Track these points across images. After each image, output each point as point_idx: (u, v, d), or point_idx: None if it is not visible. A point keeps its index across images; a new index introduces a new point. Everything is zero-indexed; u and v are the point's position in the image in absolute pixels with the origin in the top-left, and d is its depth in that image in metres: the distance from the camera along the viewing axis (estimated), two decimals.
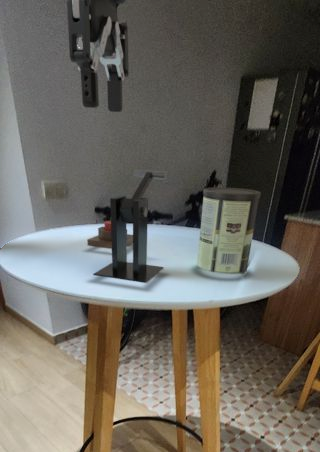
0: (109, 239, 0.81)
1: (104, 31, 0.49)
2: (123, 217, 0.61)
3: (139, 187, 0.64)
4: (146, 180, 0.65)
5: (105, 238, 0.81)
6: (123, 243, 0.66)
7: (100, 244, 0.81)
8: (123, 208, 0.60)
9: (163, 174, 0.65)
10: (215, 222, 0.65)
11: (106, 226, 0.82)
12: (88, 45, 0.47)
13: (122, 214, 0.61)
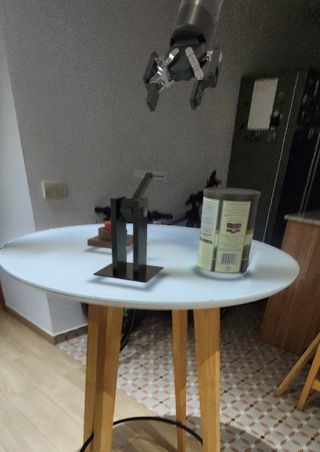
0: (109, 239, 0.81)
1: None
2: (123, 217, 0.61)
3: (139, 187, 0.64)
4: (146, 180, 0.65)
5: (105, 238, 0.81)
6: (123, 243, 0.66)
7: (100, 244, 0.81)
8: (123, 208, 0.60)
9: (163, 174, 0.65)
10: (215, 222, 0.65)
11: (106, 226, 0.82)
12: None
13: (122, 214, 0.61)
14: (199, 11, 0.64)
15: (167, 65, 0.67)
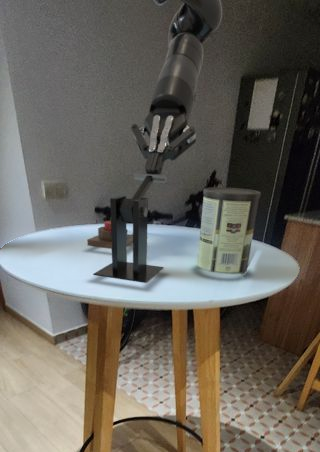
0: (109, 239, 0.81)
1: None
2: (123, 216, 0.61)
3: (139, 189, 0.64)
4: (146, 182, 0.65)
5: (105, 238, 0.81)
6: (123, 243, 0.66)
7: (100, 244, 0.81)
8: (123, 207, 0.60)
9: (163, 177, 0.66)
10: (215, 222, 0.65)
11: (106, 226, 0.82)
12: None
13: (122, 214, 0.61)
14: (180, 83, 0.65)
15: (157, 131, 0.67)
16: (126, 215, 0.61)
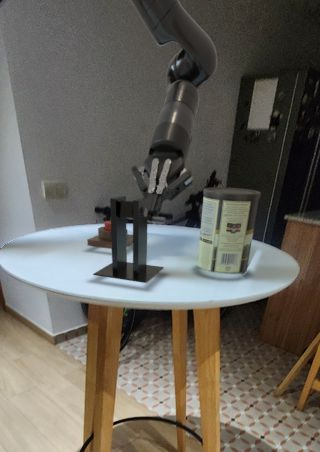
0: (109, 239, 0.81)
1: None
2: (122, 211, 0.61)
3: None
4: None
5: (105, 238, 0.81)
6: (123, 243, 0.66)
7: (100, 244, 0.81)
8: (125, 201, 0.60)
9: (163, 217, 0.70)
10: (215, 222, 0.65)
11: (106, 226, 0.82)
12: None
13: (122, 208, 0.60)
14: (177, 129, 0.69)
15: (156, 173, 0.71)
16: (126, 209, 0.60)
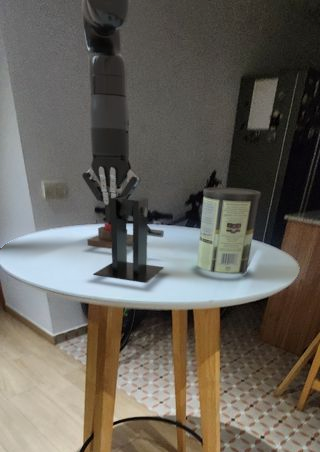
0: (109, 239, 0.81)
1: None
2: (122, 208, 0.60)
3: None
4: None
5: (105, 238, 0.81)
6: (123, 243, 0.66)
7: (100, 244, 0.81)
8: (125, 199, 0.60)
9: (161, 230, 0.71)
10: (215, 222, 0.65)
11: (106, 227, 0.82)
12: None
13: (122, 206, 0.60)
14: (112, 135, 0.70)
15: (106, 184, 0.77)
16: (126, 207, 0.60)
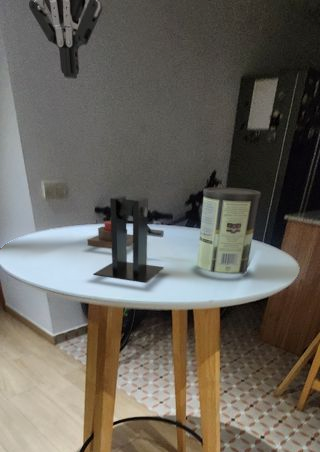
0: (109, 239, 0.81)
1: None
2: (122, 208, 0.60)
3: None
4: None
5: (105, 238, 0.81)
6: (123, 243, 0.66)
7: (100, 244, 0.81)
8: (125, 199, 0.60)
9: (161, 230, 0.71)
10: (215, 222, 0.65)
11: (106, 226, 0.82)
12: None
13: (122, 206, 0.60)
14: None
15: (58, 13, 0.60)
16: (126, 207, 0.60)
